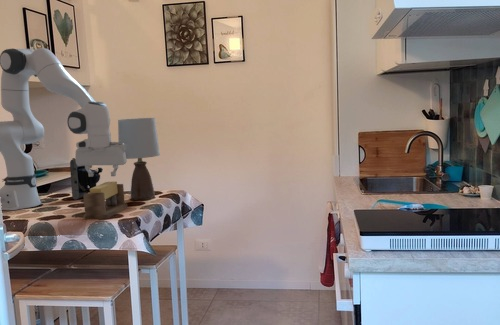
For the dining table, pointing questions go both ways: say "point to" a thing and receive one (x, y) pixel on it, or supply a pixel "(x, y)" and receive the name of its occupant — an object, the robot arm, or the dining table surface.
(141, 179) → the lamp
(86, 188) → the vintage camera
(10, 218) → the dining table surface
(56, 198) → the dining table surface
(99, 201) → the brown u-shaped block
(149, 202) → the dining table surface
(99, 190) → the plank
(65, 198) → the dining table surface
